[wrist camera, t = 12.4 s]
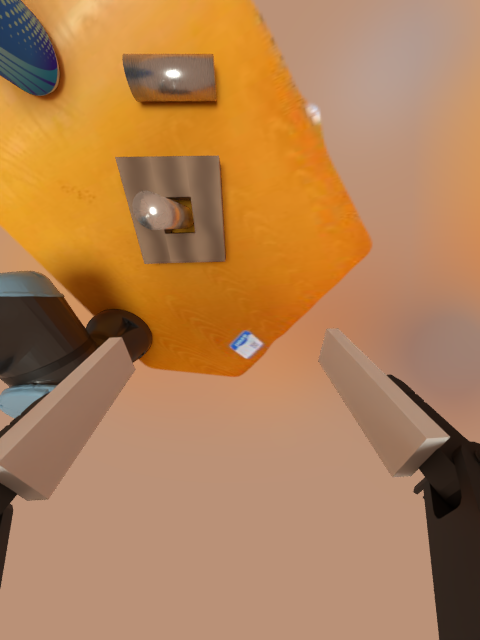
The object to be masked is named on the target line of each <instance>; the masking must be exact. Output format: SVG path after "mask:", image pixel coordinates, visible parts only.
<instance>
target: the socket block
mask: <svg viewBox="0 0 480 640" xmlns="http://www.w3.org/2000/svg"><path fill="white" fill-rule="evenodd" d="M115 158H116V161H117V165H118V169H119V172H120V176H121V180H122V183H123V187H124V191H125V194H126V198H127V201H128V205H129V209H130V212H131V216H132V220H133V223H134V227H135V231H136V234H137V238H138V241H139V245H140V249H141V252H142V256H143V260H144V263H145V264H153V263H186V262H220V261H225V259H226V254H225V237H224V220H223V202H222V185H221V168H220V160H219V156H167V157H115ZM141 191H151V192H153V193H156V194H158V195H161V196H163V197H165V198H168V199H170V200H173V201H174V200H191V203H192V211H193V219H194V226H195V233H172V229H163V230H150V229H147V228H145V227H144V226H142V225H141V224H140V223H139V222H138V220H137V219H136V217H135V215H134V212H133V207H132V204H133V199H134V197H135V196H136V194H137V193H139V192H141Z"/></svg>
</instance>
